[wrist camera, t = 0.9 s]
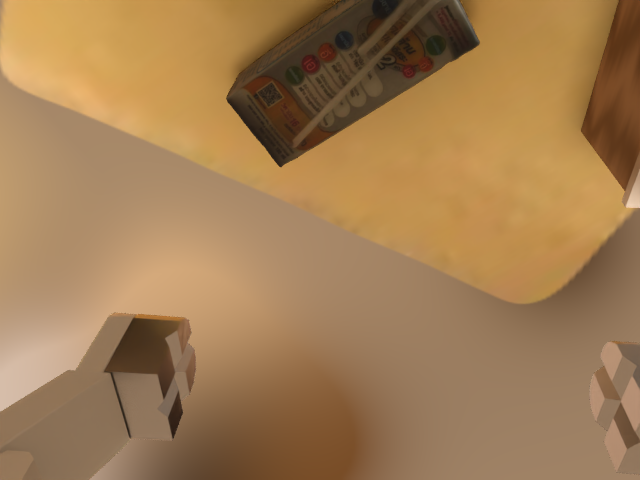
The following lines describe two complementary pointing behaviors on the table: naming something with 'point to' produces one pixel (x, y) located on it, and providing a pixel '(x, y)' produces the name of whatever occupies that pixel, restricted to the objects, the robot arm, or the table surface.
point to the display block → (619, 103)
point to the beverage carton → (346, 69)
